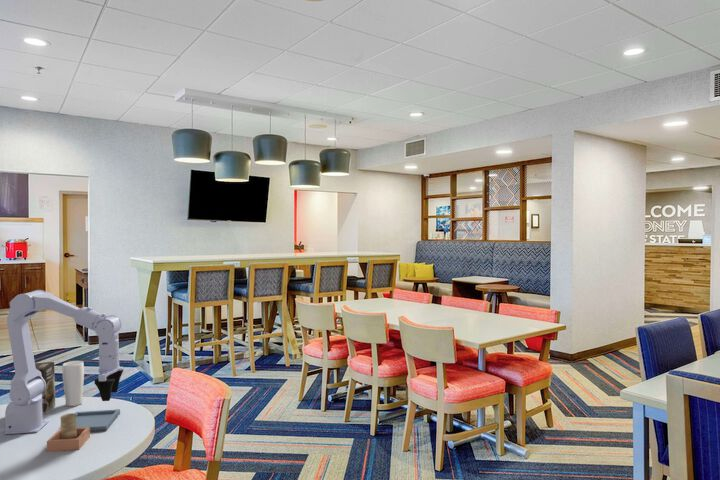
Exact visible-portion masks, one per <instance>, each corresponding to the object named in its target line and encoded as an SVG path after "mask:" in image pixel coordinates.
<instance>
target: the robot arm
mask: <svg viewBox="0 0 720 480" xmlns="http://www.w3.org/2000/svg"><path fill="white" fill-rule="evenodd" d="M44 310H45V311H46V310H50V311H52V312H56V313H59V314H61V315H64V316H67V317H70V318H73V320H74V322H75V324H77V325H80V326H82V327H84V328H87V329H89V330H91V331H93V332H95V335H97V338H98V358H99V359H98V378H96V379H94V385H95V386H96V387H97V389H98V392H99V395H100V398H101V401H102V402H109V401H110V400H111V397H112V394H113V393H117V392H118V390H119V385H120V380H121V378H122V374H123V372H124V366H120V348H119V347H120V345H119V344H120V341H119V337H120V336H119V331H120V330H121V328H122V322H121V319H120V318H119V317H117V316H116V315H113V314H112V315H108V314H107V313H102V312H99V311H97V310H94V307H92V306H88V307H86V306H84V307H83V306H82V307H78V306H76V305H73V304H71V303H69V302H68V301H65V300H63V299H61V298H59V297H57V296H55V295H54V294H53V293H51V292H48V291H45V290H42V289H35V290H33V291H30V292H26V293H20V294H17V295H16V296H15V297H13V298H12V299H11V301H9V311H8V313H7V316H6V324H7V325H6V326H7V330H8V335H9V337H8V338H9V341H10V343H9V344H10V349H11V355H12V360H13V367H14V373H15V374H14V375H13V377H12V379H11V381H10V390H9V394H8V397H9V399H10V401H11V402H9V403H8V404H7V405H6V407H5V412H4V413H5V414H4V415H5V417H4V418H5V420H4V421H5V432H4V435H12V434H15V435H16V434H27V433H30V434H31V433H38V432H39V431H40V430H41V429H42V428H43V427H45V426H46V425H47V424H48V423H49V421H48V420H43V418H44V417H43V415H42V393H43V392H44V391H45V389H46V382H45V380H44V379H43V377H42V374H41V372H40V371H39V370H37V369H36V367H35V363H36V361H35V357H34V356H35V355H34V348H33V343H32V338H31V337H32V336H31V330H30V324H29V321H30V319H32V317H34V315H36V313H39V311H44Z"/></svg>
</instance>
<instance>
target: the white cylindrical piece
mask: <svg viewBox="0 0 720 480" xmlns="http://www.w3.org/2000/svg"><path fill="white" fill-rule="evenodd" d="M61 367H62V368H61V369H62V372H61V373H62V383H63V391H64V399H65V405H66V406H67V407H76V406H77V407H78V406H79V405H81V404H82V403H83V400H84V398H83V396H84V383H85V382H84V381H85V379H84V377H85V364H84V361H83V360H72V361H67V362H64V363H63V364H62V366H61Z"/></svg>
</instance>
